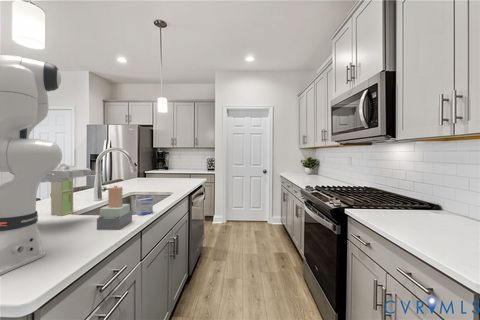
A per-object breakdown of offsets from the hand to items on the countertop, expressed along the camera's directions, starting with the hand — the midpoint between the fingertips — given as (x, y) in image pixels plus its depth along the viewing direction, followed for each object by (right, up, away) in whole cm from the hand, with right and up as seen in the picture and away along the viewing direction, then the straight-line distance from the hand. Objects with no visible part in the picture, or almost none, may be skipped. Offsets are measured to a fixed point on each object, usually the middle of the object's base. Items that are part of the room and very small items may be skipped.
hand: (89, 173), depth 116 cm
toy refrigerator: (-27, -24, +20) cm, 41 cm away
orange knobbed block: (+12, -16, +1) cm, 20 cm away
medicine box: (+17, -25, +23) cm, 38 cm away
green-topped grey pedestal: (+12, -25, +1) cm, 27 cm away
